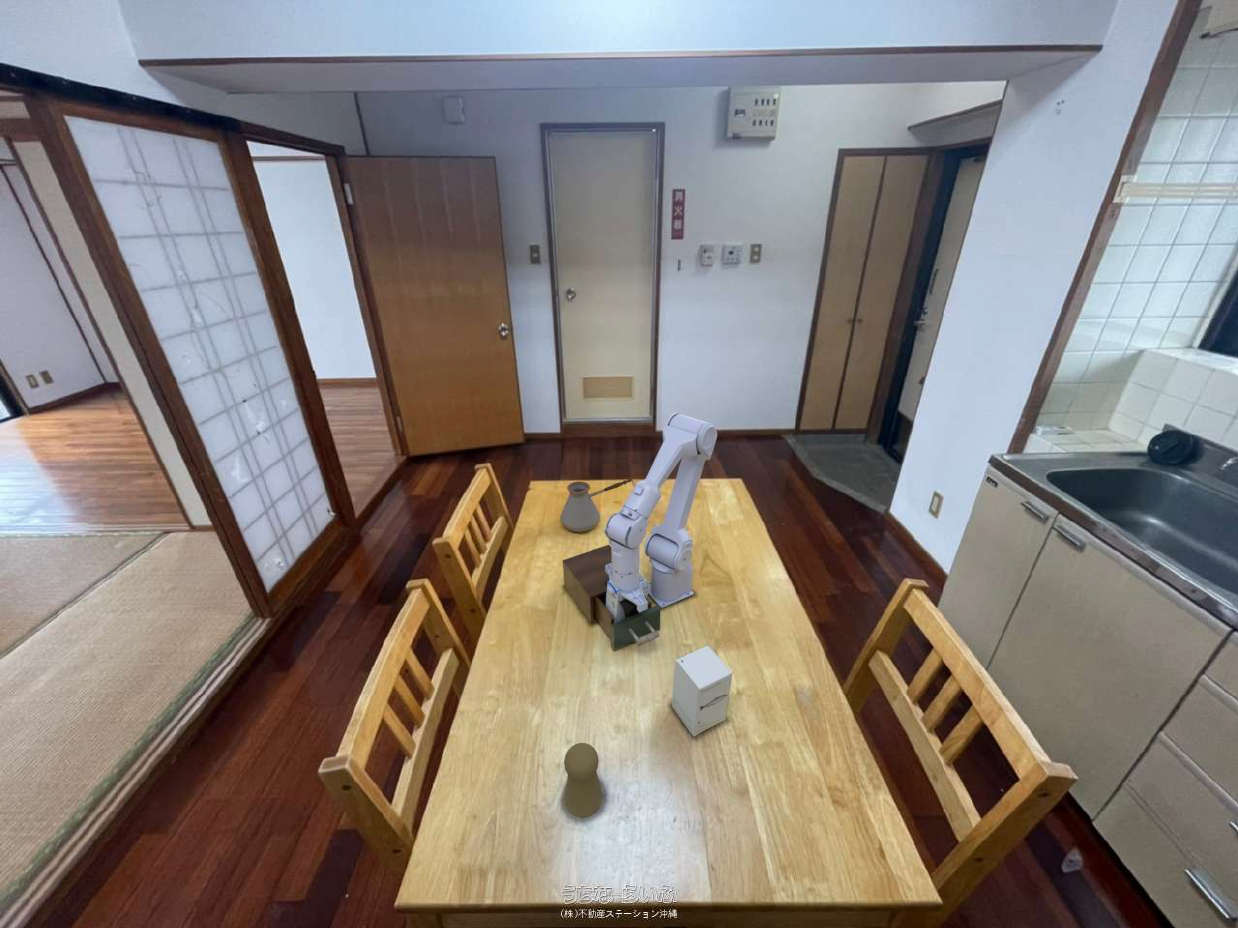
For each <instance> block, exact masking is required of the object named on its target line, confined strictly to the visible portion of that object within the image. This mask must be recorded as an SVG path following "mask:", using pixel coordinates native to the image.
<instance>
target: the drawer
mask: <svg viewBox="0 0 1238 928" xmlns="http://www.w3.org/2000/svg"><path fill="white" fill-rule="evenodd" d="M606 596H607V593H606V594H604V595H601V596H599V597H596V598H593V608H594V616H595V618H596V619H597V620H598V622H597V623H598V624H599V625H600V626H601V628H602V629H603V630H604V632H605V633H606V634H607V636H608V638H609V639H610V640H611V648H612V649H613V650H614V651H616V650H619V649H620V648H622V647H626V646H627V645H629V644H632V643H634V642H635V644H636V646H637V647H640V646H643V645H645V644H647V643H649V642H651V641H653V640H655V639H658V638H660V633H659V631H661V613H662V612H661V610H662V608H661V607H660V606H659V605H658V604H657V605H654V606H652V604H653V603H652V601H651V600H650V599H649V597H647V602H648V609H646V610H644V611H642V612H640V613H637V614H635V615H632V616H630V617H628V618H625V619H623V620H621V621H618V622H616V623H614V617H613V616H612V615H611V613H610V612H609V611H608V609H607V608H606Z"/></svg>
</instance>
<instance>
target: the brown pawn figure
mask: <svg viewBox="0 0 1238 928" xmlns="http://www.w3.org/2000/svg"><path fill="white" fill-rule="evenodd" d="M599 761H600V760H599V754H598V752H597V750H596V749H595V748H594V747H593V746H592V745H591V744H590V743H585V742H578V743H575V744H574V745H572V746H570V747H569V749H568V750H567V751H566V753H565V756H564V761H563V763H564V765H563V766H564V770H565V772H566V774H567V778H566V786H565V793H564V794H565V795H564V805H565V807H566V809H567V812H569V813H570V814H571V815H572V816H574V817H577V818H581V819H584V818H585V819H586V818H588V817H589V818H590V817H592V816H593V815H595V814H596V813H597V812H598V811H599V809H600V808H601V806H602V804H603V797H604V796H603V790H602V786H601V783H600V778H599V775H598V771H597V770H598V768H599V763H600V762H599Z"/></svg>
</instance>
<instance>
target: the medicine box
mask: <svg viewBox="0 0 1238 928" xmlns="http://www.w3.org/2000/svg"><path fill="white" fill-rule="evenodd" d="M639 581H640V584H641V587H642V590H643V594H644V596H645V597H646V598H648V596H649V594H648V587H649V585H650V582H649V581H648V579H646V578H645V576H644V575H643V574H641V572H639ZM608 585H610V586H611V587H612V588H613V590H614V593H613V594H611V593H610V592H609V591H608V589H607V596H606V608H607V609H608V611H609V612H610V613H611V615H612V616H613V617H614V623H616V622H618V621H621V620H623V619H625V613H624V610H623V608H622V606H621V604H620V601H623V600H625V599H626V598H624V597H622V596H621V592H623V591H622V590H619V589H618V588H616V587H615V586H614V585H613V584H612V580H609V581H608V582H607V586H608Z"/></svg>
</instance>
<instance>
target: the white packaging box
mask: <svg viewBox="0 0 1238 928" xmlns="http://www.w3.org/2000/svg"><path fill="white" fill-rule="evenodd" d="M732 678H733V672H732V671H731V669H730V668H729V667H728V666H727V665H726V664H725V662H724V661H722V659H721V658H720V657H719V656H718V654H716V653H715V651H714V650H713V649H712V647H711V646H710V644H709V645H707V644H706V645H704V646H702V647H700V648H699V649H696V650H694V651H691V652H689V653H686V654H685V655H682V656H681V657H678V658H676V659H675V660H674V672H673V685H672V696H671V697H672V699H671V707H672V709H673V710H674V712H675V713H676V715H677V716H678V718H679V719H680V720H681V722H682V723H683V725H684V726H685V727H686V729H687V730H688V731H689V733H690V734H691V736H692V737H697V736H699V735H700V734H701V733H704V732H705V731H707V730H708V729H710V728H713V727H714V726H716V725H718V724H720V723H722V722H725V721H726V719H727V713H728V705H729V699H730V693H731V684H732Z"/></svg>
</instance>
